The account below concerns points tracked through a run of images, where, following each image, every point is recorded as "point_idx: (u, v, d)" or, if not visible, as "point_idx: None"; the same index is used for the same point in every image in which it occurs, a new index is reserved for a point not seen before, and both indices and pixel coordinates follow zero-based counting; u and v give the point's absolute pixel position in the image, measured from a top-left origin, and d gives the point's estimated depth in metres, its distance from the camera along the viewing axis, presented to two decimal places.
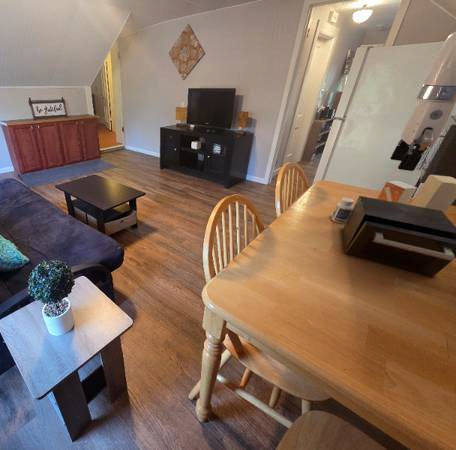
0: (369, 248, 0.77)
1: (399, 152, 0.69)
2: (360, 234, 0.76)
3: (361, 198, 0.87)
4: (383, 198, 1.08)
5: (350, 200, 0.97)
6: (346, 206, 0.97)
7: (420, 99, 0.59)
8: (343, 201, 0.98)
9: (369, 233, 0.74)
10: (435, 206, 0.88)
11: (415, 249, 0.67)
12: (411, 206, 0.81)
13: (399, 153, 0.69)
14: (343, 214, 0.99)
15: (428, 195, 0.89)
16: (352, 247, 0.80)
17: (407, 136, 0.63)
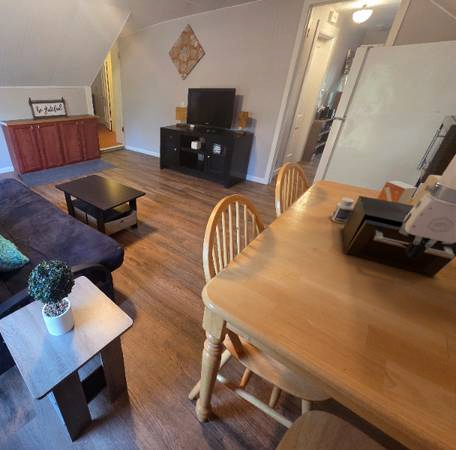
0: (369, 247, 0.78)
1: None
2: (360, 233, 0.76)
3: (361, 198, 0.87)
4: (383, 198, 1.08)
5: (350, 200, 0.97)
6: (346, 206, 0.97)
7: None
8: (343, 201, 0.98)
9: (369, 232, 0.75)
10: None
11: None
12: (411, 206, 0.81)
13: None
14: (343, 214, 0.99)
15: None
16: (352, 246, 0.80)
17: None
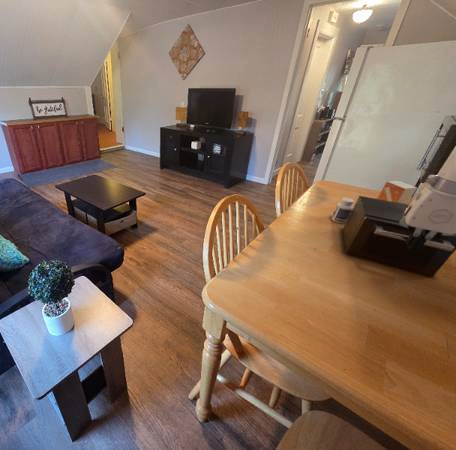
0: (369, 245, 0.78)
1: None
2: (360, 229, 0.78)
3: (361, 198, 0.87)
4: (383, 198, 1.08)
5: (350, 200, 0.97)
6: (346, 206, 0.97)
7: None
8: (343, 201, 0.98)
9: (369, 228, 0.76)
10: None
11: None
12: None
13: None
14: (343, 214, 0.99)
15: None
16: (352, 245, 0.81)
17: None
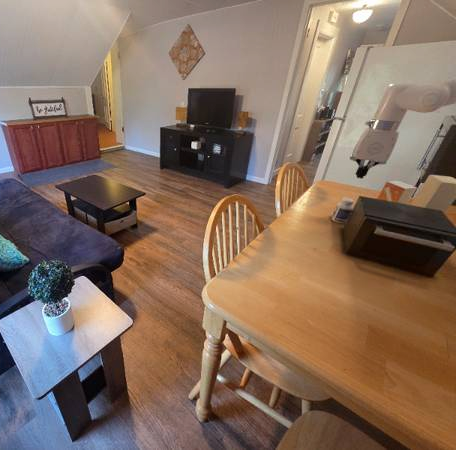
0: (369, 245, 0.78)
1: None
2: (360, 229, 0.78)
3: (361, 198, 0.87)
4: (383, 198, 1.08)
5: (350, 200, 0.97)
6: (346, 206, 0.97)
7: None
8: (343, 201, 0.98)
9: (369, 228, 0.76)
10: (435, 206, 0.88)
11: (415, 240, 0.68)
12: (411, 206, 0.81)
13: None
14: (343, 214, 0.99)
15: (428, 195, 0.89)
16: (352, 245, 0.81)
17: None
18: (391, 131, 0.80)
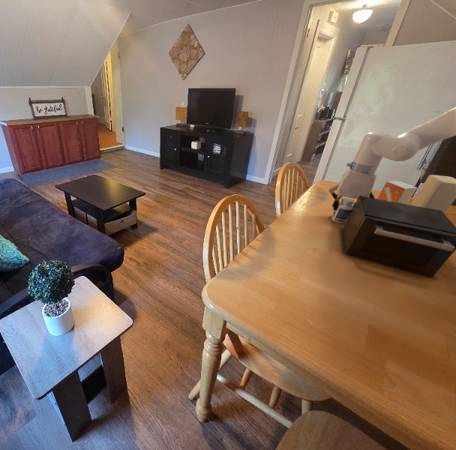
0: (369, 245, 0.78)
1: (353, 207, 0.98)
2: (360, 229, 0.78)
3: (361, 198, 0.87)
4: (383, 198, 1.08)
5: (350, 200, 0.97)
6: (346, 206, 0.97)
7: None
8: (343, 201, 0.98)
9: (369, 228, 0.76)
10: (435, 206, 0.88)
11: (415, 240, 0.68)
12: (411, 206, 0.81)
13: None
14: (343, 214, 0.99)
15: (428, 195, 0.89)
16: (352, 245, 0.81)
17: None
18: (369, 174, 0.88)
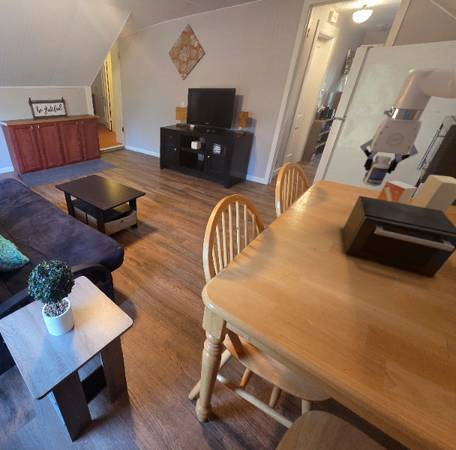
0: (369, 245, 0.78)
1: None
2: (360, 229, 0.78)
3: (361, 198, 0.87)
4: (383, 198, 1.08)
5: (387, 157, 0.82)
6: (382, 164, 0.82)
7: None
8: (378, 158, 0.83)
9: (369, 228, 0.76)
10: (435, 206, 0.88)
11: (415, 240, 0.68)
12: (411, 206, 0.81)
13: None
14: (378, 175, 0.84)
15: (428, 195, 0.89)
16: (352, 245, 0.81)
17: None
18: (413, 120, 0.73)
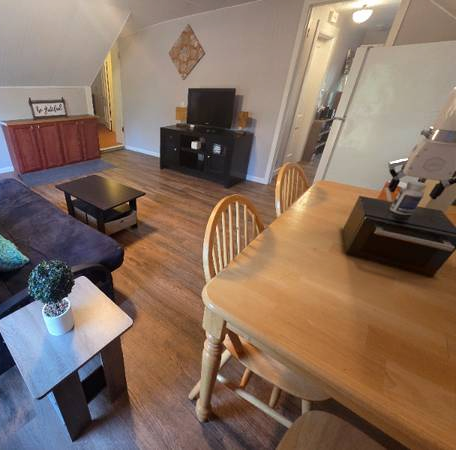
0: (369, 245, 0.78)
1: (434, 189, 0.72)
2: (360, 229, 0.78)
3: (361, 198, 0.87)
4: (383, 198, 1.08)
5: (421, 184, 0.73)
6: (415, 192, 0.73)
7: None
8: (411, 185, 0.73)
9: (369, 228, 0.76)
10: (435, 206, 0.88)
11: (415, 240, 0.68)
12: None
13: (433, 190, 0.72)
14: (410, 203, 0.74)
15: (428, 195, 0.89)
16: (352, 245, 0.81)
17: None
18: None
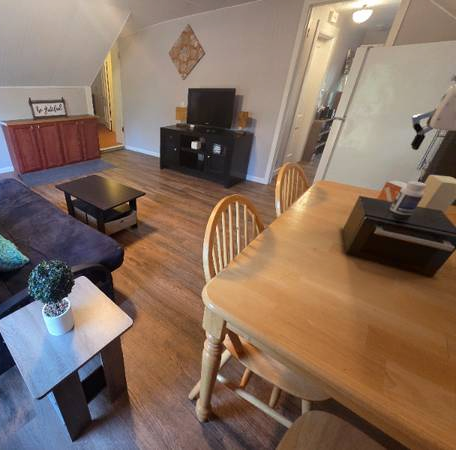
0: (369, 245, 0.78)
1: None
2: (360, 229, 0.78)
3: (361, 198, 0.87)
4: (383, 198, 1.08)
5: (421, 184, 0.73)
6: (415, 192, 0.73)
7: None
8: (411, 185, 0.73)
9: (369, 228, 0.76)
10: (435, 206, 0.88)
11: (415, 240, 0.68)
12: None
13: None
14: (410, 203, 0.74)
15: (428, 195, 0.89)
16: (352, 245, 0.81)
17: None
18: None
